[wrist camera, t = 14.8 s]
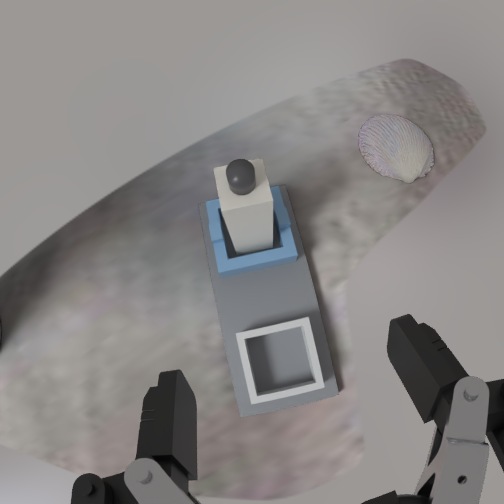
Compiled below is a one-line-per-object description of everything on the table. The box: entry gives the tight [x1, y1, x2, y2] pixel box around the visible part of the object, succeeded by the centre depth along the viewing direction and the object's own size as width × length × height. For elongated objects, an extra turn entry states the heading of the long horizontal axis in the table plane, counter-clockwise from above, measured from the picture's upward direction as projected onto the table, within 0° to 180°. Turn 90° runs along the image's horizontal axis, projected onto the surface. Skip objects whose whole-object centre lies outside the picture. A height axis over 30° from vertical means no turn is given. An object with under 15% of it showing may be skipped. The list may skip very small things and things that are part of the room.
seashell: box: [358, 114, 434, 183], centre depth 32 cm, size 10×6×10 cm
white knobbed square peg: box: [214, 158, 273, 255], centre depth 25 cm, size 3×3×12 cm
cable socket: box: [198, 185, 339, 417], centre depth 28 cm, size 21×9×4 cm, turn 12°
